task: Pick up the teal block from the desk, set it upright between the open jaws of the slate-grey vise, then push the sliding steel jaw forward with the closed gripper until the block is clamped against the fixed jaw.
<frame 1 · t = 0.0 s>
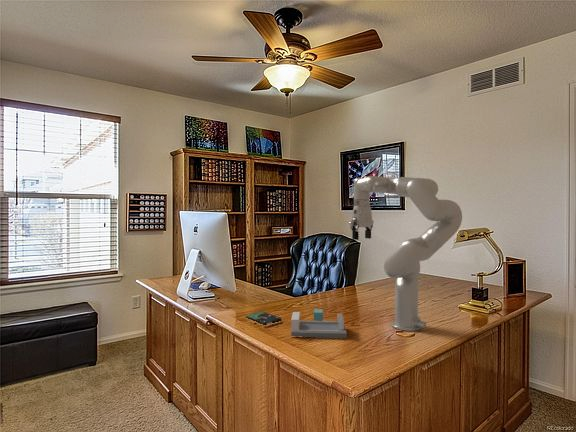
hand: (361, 238, 175), 37 cm above the table, tool pointing down, fingers open, 9 cm apart
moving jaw: (340, 322, 149), point 4 cm above the table, slide at 0.0 cm
vise: (318, 332, 150), on the table
disk drive: (262, 322, 166), on the table
teal block: (318, 323, 163), on the table
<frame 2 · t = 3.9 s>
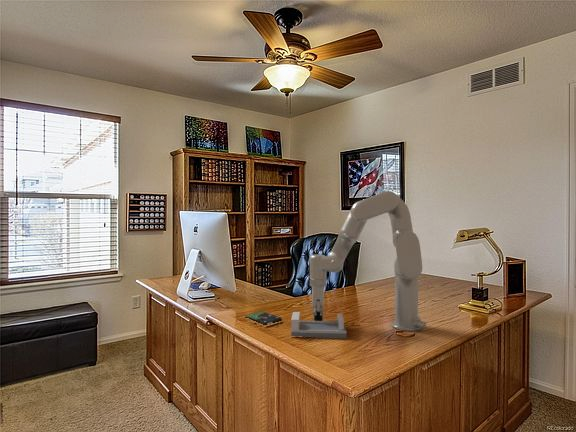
hand: (318, 321, 163), 0 cm above the table, tool pointing down, fingers closed on teal block, 5 cm apart
teal block: (318, 322, 163), on the table, touching gripper
everything else where it was.
when the fingers open (4 cm above the table, at t = 9.0 s): teal block drops 1 cm, resting on vise.
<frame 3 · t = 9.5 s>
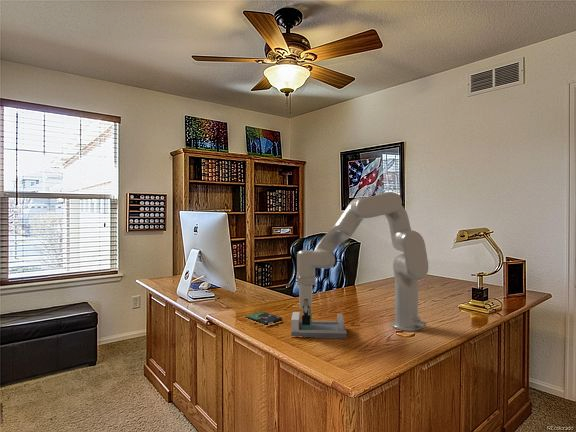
hand: (306, 321, 151), 5 cm above the table, tool pointing down, fingers open, 9 cm apart
teal block: (306, 327, 151), point 2 cm above the table, touching vise
everything else where it was.
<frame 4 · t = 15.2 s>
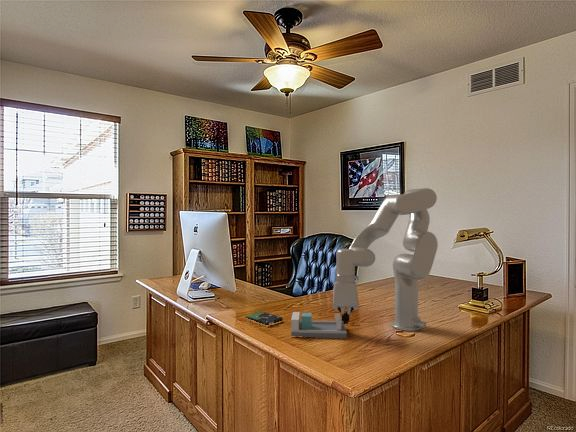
hand: (345, 323, 149), 4 cm above the table, tool pointing down, fingers closed
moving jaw: (338, 322, 150), point 4 cm above the table, slide at 1.0 cm, touching gripper
everything else where it was.
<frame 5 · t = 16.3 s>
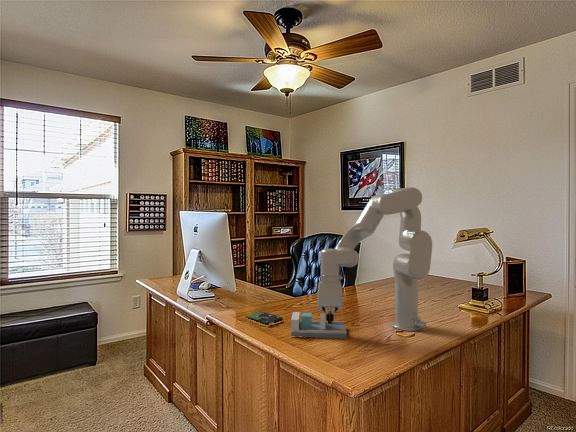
hand: (329, 322, 150), 4 cm above the table, tool pointing down, fingers closed
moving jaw: (322, 322, 150), point 4 cm above the table, slide at 7.4 cm, touching gripper
everything else where it was.
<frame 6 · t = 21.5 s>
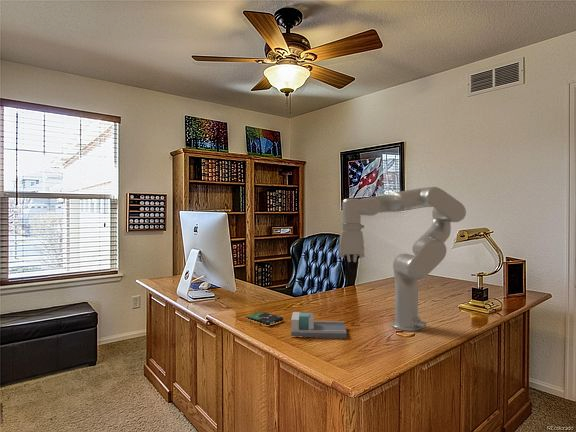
hand: (351, 271, 153), 25 cm above the table, tool pointing down, fingers closed
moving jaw: (311, 322, 150), point 4 cm above the table, slide at 12.0 cm
teal block: (304, 327, 151), point 2 cm above the table, touching vise
everything else where it was.
at the end: teal block 0.1 cm from the target spot on the vise, point 2.0 cm above the vise's base; teal block tilted 0°; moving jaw slide at 12.0 cm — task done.
